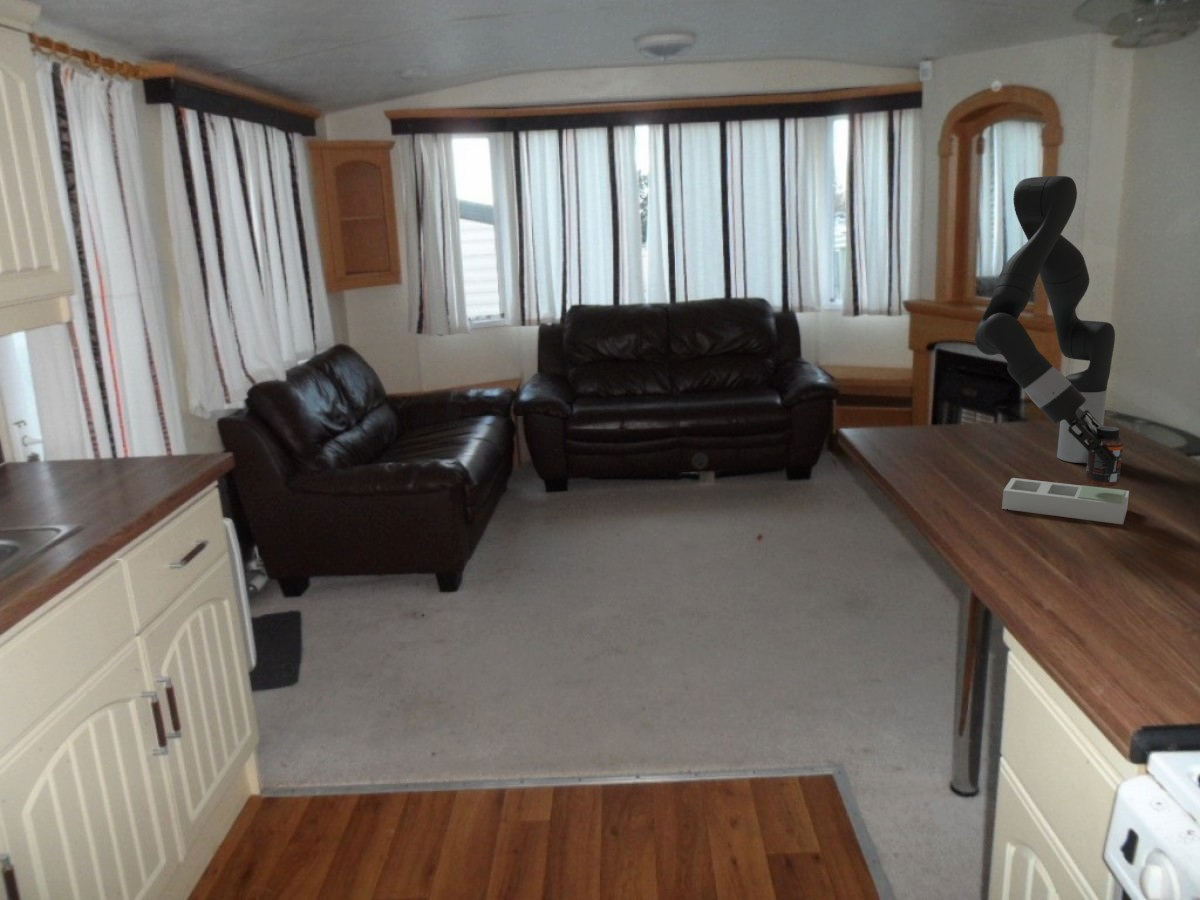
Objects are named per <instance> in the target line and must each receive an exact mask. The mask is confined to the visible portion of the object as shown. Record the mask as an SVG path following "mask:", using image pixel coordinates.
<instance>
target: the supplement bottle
mask: <svg viewBox="0 0 1200 900" xmlns="http://www.w3.org/2000/svg"><path fill="white" fill-rule="evenodd" d="M1096 430H1097V431H1098V432H1099V435H1098V437H1099V438H1100V439H1101V440H1102V441H1103V442H1104V445H1106V447H1107V448H1108V449H1109V450H1110V451H1111V452H1112V453H1113V454H1114V455H1115V456H1116V457H1117V461H1116V462H1114V463H1113V464H1111V465H1109V466H1108V465H1106V464H1105V463H1104V462H1103V461H1102V460H1101V459H1100V458H1099V456H1098V455H1097V454H1096V453H1095V452H1092V451H1091V452H1089V451H1088V459H1087V463H1086V469H1085V481H1086V483H1088V484H1090V485H1092V486H1095V487H1107V488H1110V487H1115V486H1117V485H1118V484H1119V481H1120V478H1121V477H1120V475H1121V469H1122V468H1121V467H1122V459H1123V450H1124V449H1123V448H1124V441H1123V440H1122V439H1121V438H1120V437H1119V436H1120V429H1119V428H1118V427H1115V426H1111V425H1110V426H1108V425H1107V426H1106V425H1103V426H1099V427H1097V428H1096ZM1092 442H1093V440H1091V441H1090V443H1092Z"/></svg>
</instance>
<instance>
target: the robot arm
mask: <svg viewBox="0 0 1200 900" xmlns="http://www.w3.org/2000/svg"><path fill="white" fill-rule="evenodd" d="M1077 198H1078V191H1077V185H1076V183H1075V180H1074V179H1073V178H1072V177H1070V176H1066V175H1054V176H1034V177H1028V178H1024V179H1022V180H1020V181H1019V182H1018V183H1017V184H1016V185H1015V188H1014V192H1013V200H1012V201H1013V208H1014V213H1015V215H1016V218H1017V220H1018V222H1019V225H1020V227H1021V229H1022V231H1023V233H1024V235H1025V237H1026V240H1027V242H1025V244H1023V245H1022V246H1021V247H1020V248H1019V249H1018V250H1017V251H1016V252H1014V254H1012V255H1011V257H1010V258H1009V259H1008V260H1007V261H1006V263H1005V264H1004V266H1002V269H1001V271H1000V274H999V276H998V279H997V280H996V281H997V282H996V284H995V286H994V290H993V293H992V295H991V296H992V297H991V299H990V302H989V304H988V305H987V307H986V309H985V311H984V313H983V315H982V316H981V318H980V321H979V323H978V325H977V328H976V329H975V330H976V331H975V334H974V343H975V346H976V348H977V349H978V350H979V352H981V353H982V354H984V355H987V356H997V355H999V354H1001V355H1002V356H1003V358H1004V359H1005V361H1006V362H1007V367H1006V369H1007V372H1008V374H1009V376H1010V377H1012V378H1013V380H1014V381H1015V382H1016V383H1017V385H1019V386H1020V388H1022V390H1024V392H1025V393H1026V394H1027V396H1028V397H1029V398H1030V401H1032V402H1033V403H1034V404H1035V405H1036V406H1037V407H1038V409H1039V410H1040V411H1042V413H1043V414H1044V415H1045V416H1046V417H1047V418H1048V419H1049V420H1050V421H1051V422H1052V423H1053V424H1059V423H1060V424H1059V432H1058V442H1057V451H1056V452H1057V453H1056V458H1057V459H1059V460H1062V461H1065V462H1069V463H1074V464H1075V463H1076V464H1077V463H1078V464H1087V459H1088V451H1089V452H1091V451H1092V452H1095V453H1096V454H1097V455H1098V456H1099V458H1100V459H1101V460H1102V461H1103V462H1104V463H1105V464H1106V465H1108V466H1109V465H1111V464H1113V463H1114V462H1116V461H1117V457H1116V456H1115V455H1114V454H1113V453H1112V452H1111V451H1110V450H1109V449H1108V448H1107V447H1106V445H1104V442H1103V441H1102V440H1101V439H1100V438H1099V437H1098V435H1099V432H1098V431H1097V430H1096V428H1097V427H1099V426H1104V419H1105V411H1106V400H1107V391H1108V382H1109V378H1110V375H1111V368H1112V366H1111V365H1112V360H1113V355H1114V350H1115V349H1114V348H1115V342H1116V334H1115V333H1116V331H1115V328H1114V326H1113V324H1112V323H1111V322H1107V321H1096V320H1081V319H1080V318H1079V317H1078V315H1077V312H1076V309H1077V307H1078V305H1079V303H1081V300H1082V299H1083V297H1084V296H1085V294H1086V292H1087V291H1088V288H1089V285H1090V275H1089V272H1088V268H1087V264H1086V261H1085V257H1084V255H1083V254H1082V252H1081V251H1080V250H1079V249H1078V248H1077V247H1076V245H1074V244H1073V243H1072V242H1071V241H1070V240H1068V239H1067V238H1066V237H1065V236H1064V235H1062V232H1063V230H1064V229H1065V227H1066V226H1067V224H1068V222H1069V220H1070V219H1071V217H1072V214H1073V211H1074V210H1075V207H1076V203H1077ZM1039 276H1040V280H1041V283H1042V286H1043V289H1044V291H1045V294H1046V295H1047V298H1048V299H1047V300H1048V303H1049V305H1050V310H1051V312H1052V316H1053V321H1054V326H1055V331H1056V337H1057V340H1058V341H1057V342H1058V346H1059V349H1060V351H1061V354H1062V355H1063V356H1064V358H1065V357H1066V358H1068V359H1071V360H1079V361H1087V362H1088V361H1089V364H1088V368H1087V369H1084V370H1083V371H1079V372H1074V373H1071V374H1068V375H1066V376H1065V375H1064V374H1063V373H1062V372H1061V371H1060V370H1058V369H1057V368H1056V367H1055V366H1053V364H1052V363H1051V362H1050V361H1049V360H1048V359H1047V358H1046V356H1044V355H1043V354H1042V353H1041V352H1040V351H1039V350H1038V348H1037V347H1036V345H1035V342H1033V341H1034V340H1033V339H1032V338H1031V336H1030V335H1029V333H1028V331H1027V330H1026V328H1025V327H1024V326H1023V324H1022V323H1021V322H1020V320H1018V319H1019V317H1020V315H1021V314H1022V313H1023V312H1024V310H1025V309H1026V307H1027V306H1028V303H1029V301H1030V299H1031V295H1032V293H1033V291H1034V287H1035V285H1036V282H1037V279H1038V278H1039ZM1091 440H1093V442H1092V443H1090V441H1091Z"/></svg>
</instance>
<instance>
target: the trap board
mask: <svg viewBox="0 0 1200 900" xmlns="http://www.w3.org/2000/svg"><path fill="white" fill-rule="evenodd" d="M1129 496H1130V490H1125V489H1118V488H1110V487H1102V486H1093V485H1092V486H1091V485H1078V484H1071V483H1061V482H1052V481H1045V480H1044V481H1042V480H1036V479H1035V480H1033V479H1028V478H1027V479H1026V478H1017V477H1012V478H1010V480H1009V481H1008V483H1007V485H1006V486H1005V488H1004V489H1003V491H1002V504H1001V505H1002V506H1001V509H1002V510H1007V509H1008V510H1009V511H1017V512H1023V513H1032V514H1039V515H1045V516H1046V515H1048V516H1054V517H1055V516H1056V517H1060V518H1061V517H1063V518H1070V519H1078V520H1083V521H1084V520H1086V521H1091V522H1093V521H1094V522H1100V523H1108V524H1116V525H1124V522H1125V519H1126V515H1127V512H1128V506H1129V505H1128V503H1129Z"/></svg>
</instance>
